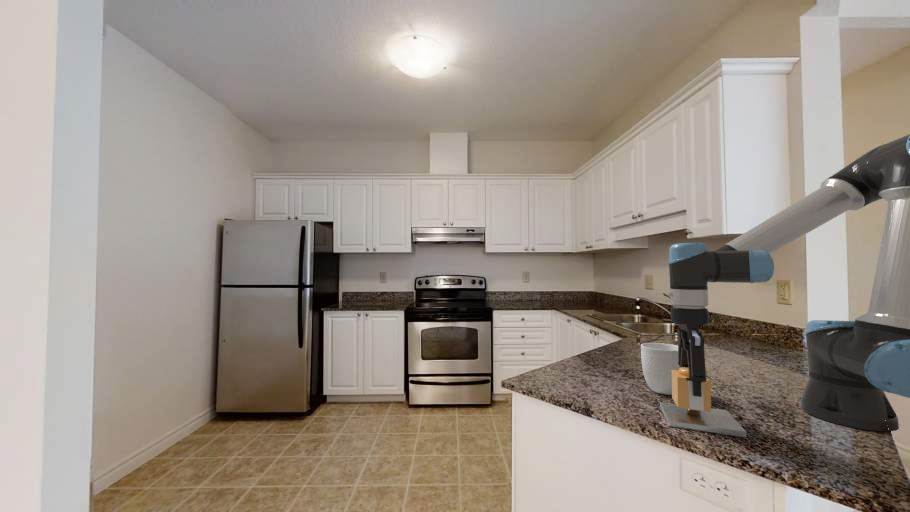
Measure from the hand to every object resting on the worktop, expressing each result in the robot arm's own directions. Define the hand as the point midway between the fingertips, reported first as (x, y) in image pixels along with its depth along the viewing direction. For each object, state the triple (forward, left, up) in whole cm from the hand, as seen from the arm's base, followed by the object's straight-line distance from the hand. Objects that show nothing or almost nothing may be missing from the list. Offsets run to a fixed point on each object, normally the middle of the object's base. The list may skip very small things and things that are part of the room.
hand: (692, 403), depth 79 cm
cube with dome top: (0, 0, 0) cm, 0 cm away
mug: (+2, -19, -4) cm, 19 cm away
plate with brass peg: (-1, 0, -4) cm, 4 cm away
